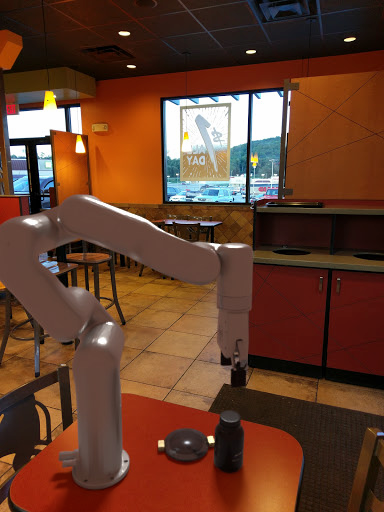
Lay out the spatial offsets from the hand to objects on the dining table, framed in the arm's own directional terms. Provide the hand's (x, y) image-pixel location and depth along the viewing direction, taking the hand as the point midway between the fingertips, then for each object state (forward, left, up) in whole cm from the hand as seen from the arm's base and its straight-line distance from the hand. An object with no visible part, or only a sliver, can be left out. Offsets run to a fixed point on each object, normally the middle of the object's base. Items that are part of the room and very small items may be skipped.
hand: (232, 375), depth 80 cm
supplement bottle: (0, 0, -22) cm, 22 cm away
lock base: (-9, +7, -22) cm, 25 cm away
